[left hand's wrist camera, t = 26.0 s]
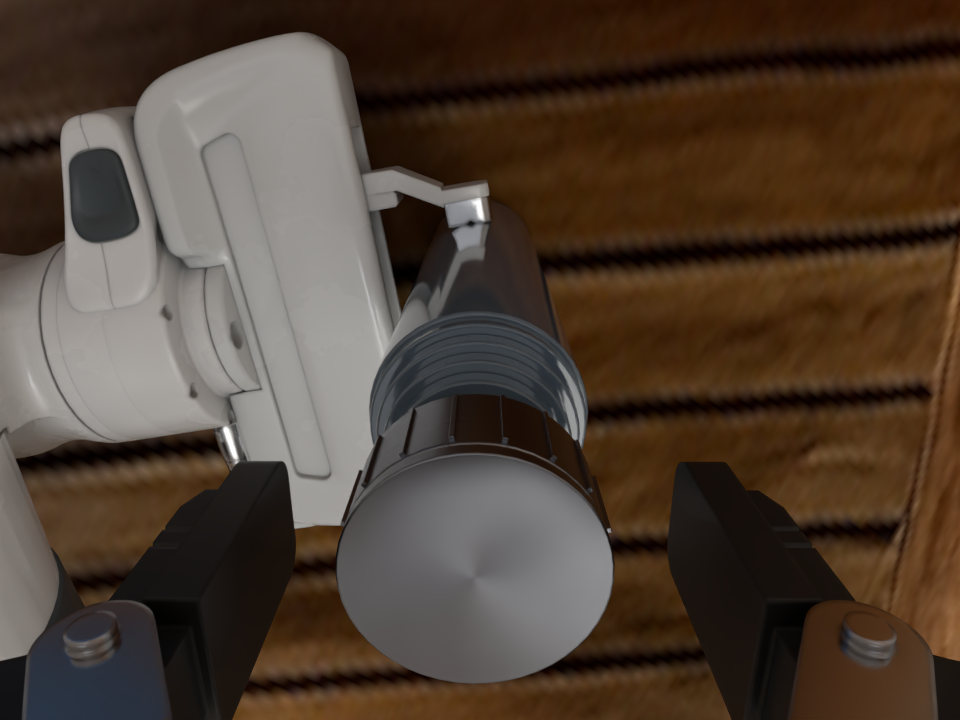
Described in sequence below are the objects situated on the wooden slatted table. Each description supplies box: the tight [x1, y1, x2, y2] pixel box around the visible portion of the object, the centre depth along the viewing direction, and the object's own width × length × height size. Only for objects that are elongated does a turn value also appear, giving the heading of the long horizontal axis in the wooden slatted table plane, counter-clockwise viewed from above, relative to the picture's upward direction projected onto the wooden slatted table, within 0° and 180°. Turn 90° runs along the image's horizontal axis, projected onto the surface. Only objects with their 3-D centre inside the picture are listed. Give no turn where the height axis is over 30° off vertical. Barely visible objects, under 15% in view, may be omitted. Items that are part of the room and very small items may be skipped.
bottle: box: [369, 201, 588, 449], centre depth 22 cm, size 5×5×24 cm
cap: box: [336, 393, 615, 684], centre depth 11 cm, size 4×4×2 cm
